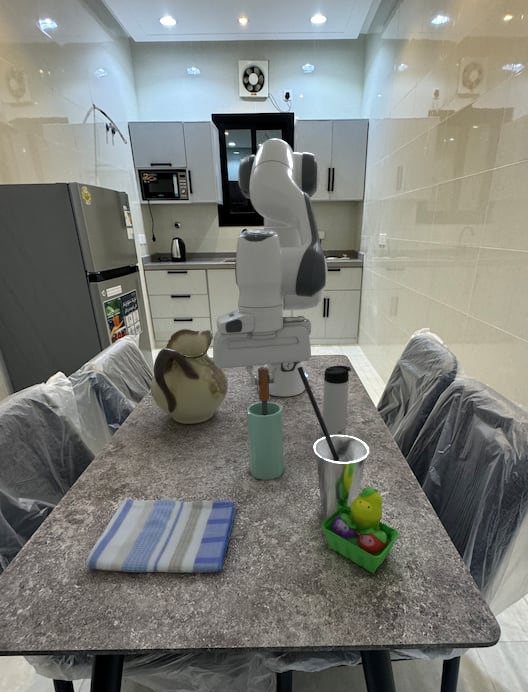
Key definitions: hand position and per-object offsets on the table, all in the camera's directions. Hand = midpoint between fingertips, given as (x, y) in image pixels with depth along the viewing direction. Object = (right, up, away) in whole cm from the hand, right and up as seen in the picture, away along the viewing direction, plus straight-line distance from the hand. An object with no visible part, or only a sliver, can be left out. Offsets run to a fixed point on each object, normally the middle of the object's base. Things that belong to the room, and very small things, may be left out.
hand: (263, 383), depth 82 cm
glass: (+14, -26, -6) cm, 31 cm away
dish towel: (-17, -29, -11) cm, 36 cm away
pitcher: (-23, -9, +36) cm, 44 cm away
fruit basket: (+17, -30, -14) cm, 38 cm away
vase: (0, -20, +9) cm, 22 cm away
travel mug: (+18, -14, +23) cm, 32 cm away
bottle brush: (0, -16, +7) cm, 18 cm away
